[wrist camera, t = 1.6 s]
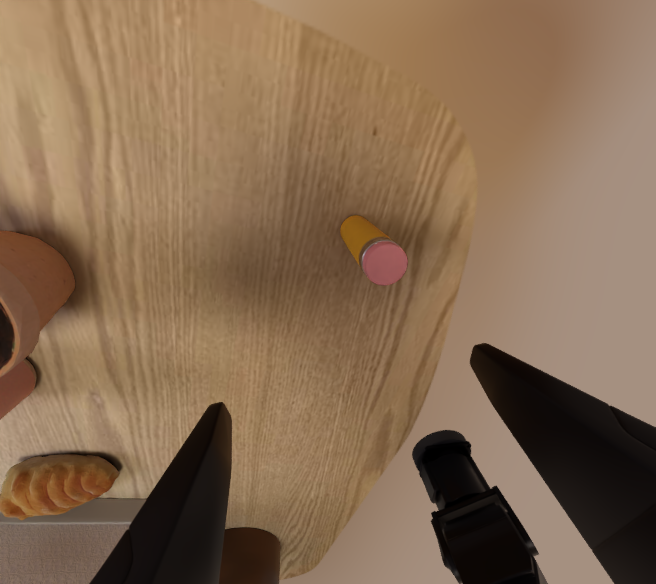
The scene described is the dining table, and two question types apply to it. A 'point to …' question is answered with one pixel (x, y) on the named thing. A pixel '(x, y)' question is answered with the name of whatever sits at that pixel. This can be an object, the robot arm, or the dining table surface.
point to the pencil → (374, 251)
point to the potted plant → (28, 293)
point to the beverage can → (16, 386)
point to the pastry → (54, 484)
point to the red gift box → (63, 542)
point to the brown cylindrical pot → (249, 557)
